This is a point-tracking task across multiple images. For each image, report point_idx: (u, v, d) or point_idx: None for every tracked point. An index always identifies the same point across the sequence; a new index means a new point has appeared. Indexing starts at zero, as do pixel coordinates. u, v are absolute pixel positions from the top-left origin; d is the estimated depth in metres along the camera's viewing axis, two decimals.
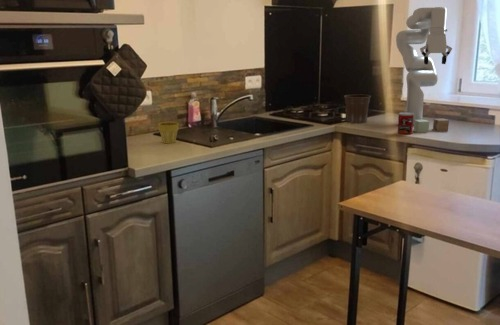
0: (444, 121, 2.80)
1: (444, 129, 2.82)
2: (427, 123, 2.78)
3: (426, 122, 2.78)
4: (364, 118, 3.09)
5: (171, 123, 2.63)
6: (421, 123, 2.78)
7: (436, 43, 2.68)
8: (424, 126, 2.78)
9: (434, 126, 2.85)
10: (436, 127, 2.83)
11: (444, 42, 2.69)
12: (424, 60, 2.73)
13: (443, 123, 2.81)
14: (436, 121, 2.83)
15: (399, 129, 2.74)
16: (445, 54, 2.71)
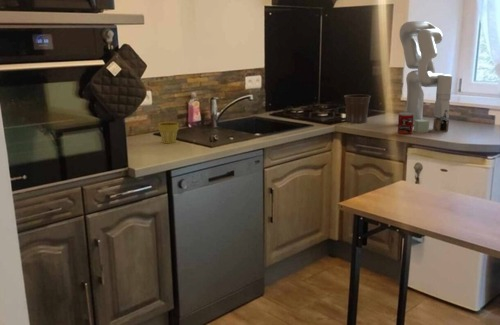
0: None
1: None
2: (427, 123, 2.78)
3: (426, 122, 2.78)
4: (364, 118, 3.09)
5: (171, 123, 2.63)
6: (421, 123, 2.78)
7: None
8: (424, 126, 2.78)
9: (434, 126, 2.85)
10: (436, 127, 2.83)
11: None
12: (444, 127, 2.80)
13: None
14: (436, 121, 2.82)
15: (399, 129, 2.74)
16: (440, 118, 2.87)
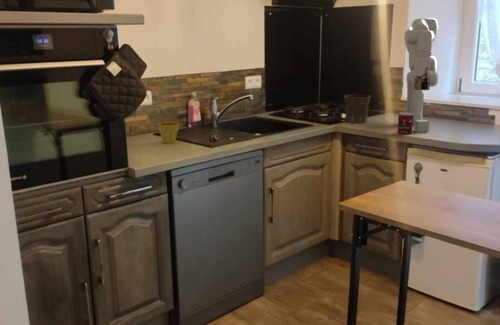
0: None
1: None
2: (427, 123, 2.78)
3: (426, 122, 2.78)
4: (364, 118, 3.09)
5: (171, 123, 2.63)
6: (421, 123, 2.78)
7: None
8: (424, 126, 2.78)
9: (415, 86, 2.74)
10: (417, 86, 2.71)
11: None
12: (425, 85, 2.68)
13: None
14: (417, 80, 2.71)
15: (399, 129, 2.74)
16: None
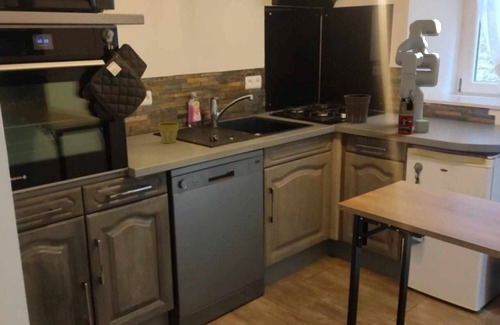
0: None
1: (410, 112, 2.71)
2: (427, 123, 2.78)
3: (426, 122, 2.78)
4: (364, 118, 3.09)
5: (171, 123, 2.63)
6: (421, 123, 2.78)
7: None
8: (424, 126, 2.78)
9: (400, 109, 2.74)
10: (402, 110, 2.72)
11: None
12: (410, 106, 2.67)
13: None
14: (402, 104, 2.72)
15: (399, 129, 2.74)
16: (406, 98, 2.76)
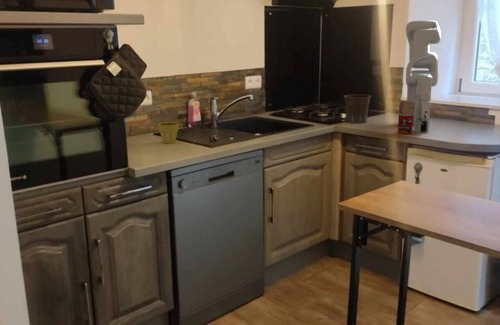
0: (410, 103, 2.70)
1: (410, 112, 2.71)
2: (427, 123, 2.78)
3: None
4: (364, 118, 3.09)
5: (171, 123, 2.63)
6: (421, 123, 2.78)
7: None
8: None
9: (400, 109, 2.74)
10: (402, 110, 2.72)
11: None
12: (424, 128, 2.77)
13: (409, 105, 2.70)
14: (402, 104, 2.72)
15: (399, 129, 2.74)
16: None
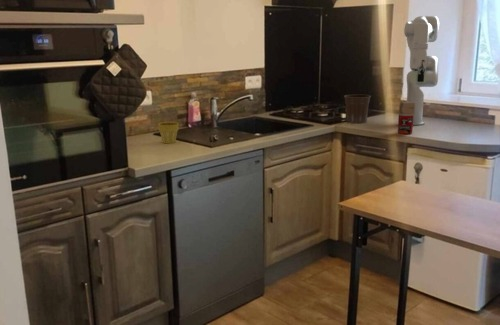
0: (410, 103, 2.70)
1: (410, 112, 2.71)
2: None
3: None
4: (364, 118, 3.09)
5: (171, 123, 2.63)
6: (418, 73, 2.68)
7: None
8: None
9: (400, 109, 2.74)
10: (402, 110, 2.72)
11: None
12: (421, 78, 2.68)
13: (409, 105, 2.70)
14: (402, 104, 2.72)
15: (399, 129, 2.74)
16: None
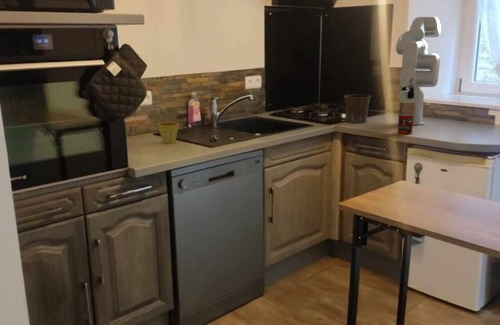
0: (410, 103, 2.70)
1: (410, 112, 2.71)
2: None
3: None
4: (364, 118, 3.09)
5: (171, 123, 2.63)
6: (407, 93, 2.68)
7: None
8: None
9: (400, 109, 2.74)
10: (402, 110, 2.72)
11: None
12: (411, 95, 2.66)
13: (409, 105, 2.70)
14: (402, 104, 2.72)
15: (399, 129, 2.74)
16: (406, 87, 2.75)
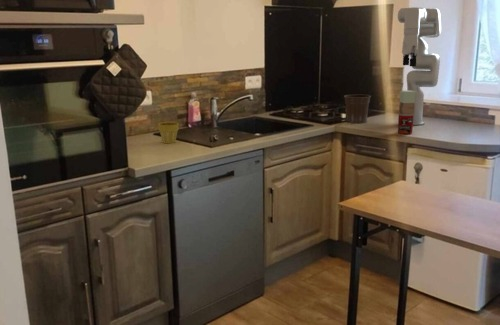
0: (410, 103, 2.70)
1: (410, 112, 2.71)
2: (413, 93, 2.68)
3: (412, 92, 2.68)
4: (364, 118, 3.09)
5: (171, 123, 2.63)
6: (407, 93, 2.68)
7: None
8: (410, 96, 2.69)
9: (400, 109, 2.74)
10: (402, 110, 2.72)
11: None
12: (413, 62, 2.61)
13: (409, 105, 2.70)
14: (402, 104, 2.72)
15: (399, 129, 2.74)
16: (408, 55, 2.71)
